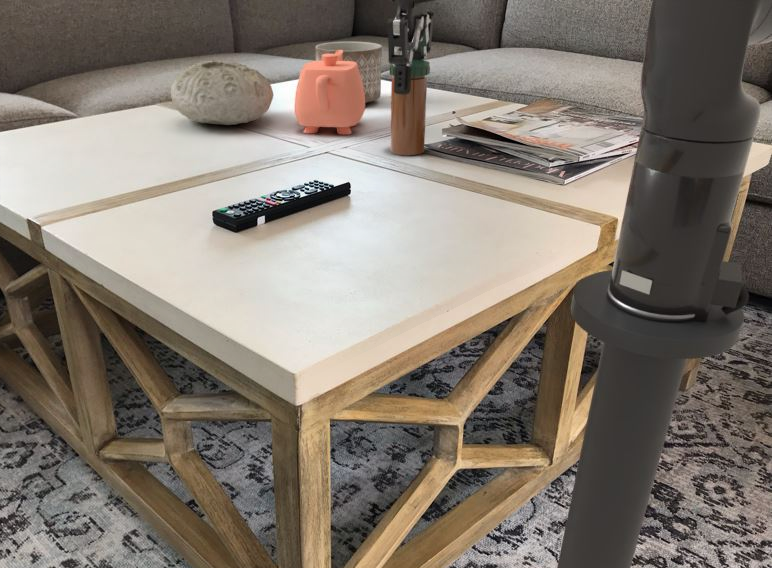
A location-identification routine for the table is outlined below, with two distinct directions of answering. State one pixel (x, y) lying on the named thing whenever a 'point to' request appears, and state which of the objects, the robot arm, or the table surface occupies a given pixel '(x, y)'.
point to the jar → (409, 118)
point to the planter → (359, 63)
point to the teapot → (329, 94)
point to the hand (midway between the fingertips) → (408, 89)
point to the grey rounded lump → (221, 93)
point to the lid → (415, 68)
